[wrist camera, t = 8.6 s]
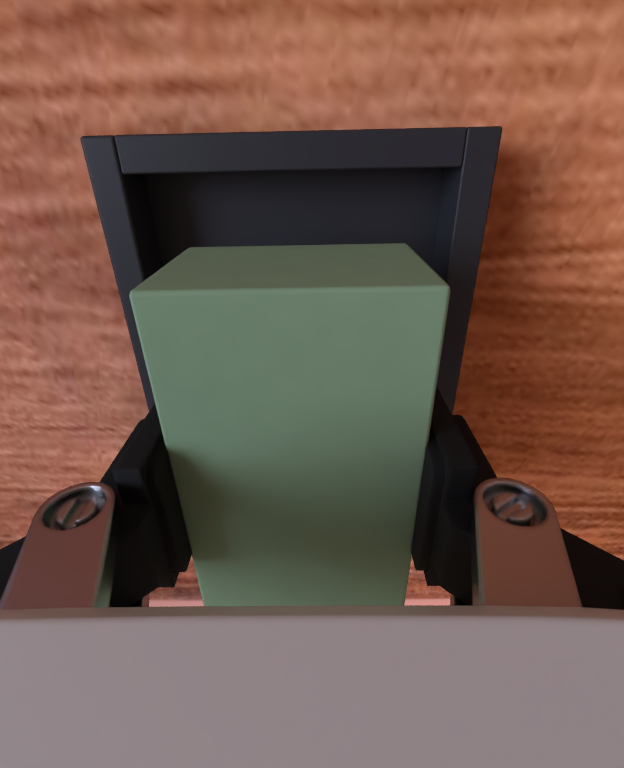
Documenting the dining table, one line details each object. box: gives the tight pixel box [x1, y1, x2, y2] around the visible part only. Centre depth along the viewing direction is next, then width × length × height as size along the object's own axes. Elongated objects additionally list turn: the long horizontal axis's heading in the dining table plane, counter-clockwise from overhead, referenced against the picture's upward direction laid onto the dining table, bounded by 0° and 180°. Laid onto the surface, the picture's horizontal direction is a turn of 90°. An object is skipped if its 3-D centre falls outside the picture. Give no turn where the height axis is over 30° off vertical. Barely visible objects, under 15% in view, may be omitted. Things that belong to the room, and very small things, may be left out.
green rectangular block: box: [129, 243, 451, 606], centre depth 10 cm, size 5×9×4 cm, turn 1°
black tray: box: [81, 126, 502, 414], centre depth 14 cm, size 10×14×2 cm
